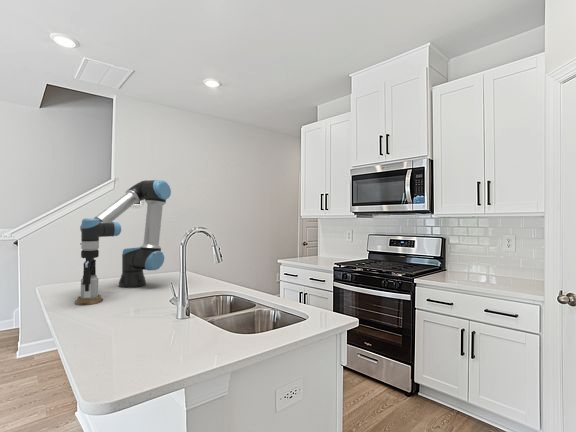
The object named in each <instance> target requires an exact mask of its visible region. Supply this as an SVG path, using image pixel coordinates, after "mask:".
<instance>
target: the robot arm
mask: <svg viewBox="0 0 576 432" xmlns="http://www.w3.org/2000/svg"><path fill="white" fill-rule="evenodd" d="M171 190H172V189H171V186H170V185H169V183H168V182H167V181H165V180H162V179H154V180H153V179H152V180H147V179H146V180H141V181H139V182H137V183H136V184H134V185H132V186H131V187H130V188H128V189H127V190H126V191H125V193H124V194H123V195H122V196H120V198H118V199H117V200H115V201H114V202H113V203H111V204H110V205H109V206H108V207H107V208H105V209H104V210H103V211H101V212H100V213H98V214H97V215H96V216H95V217H93V218H83V219H82V220H81V225H80V226H79V228H80V229H79V231H80V232H81V234H80V235H81V236H80V237H81V241H80V244H79V245H80V248H81V251H80V258H82V259H85V261H84V263H83V272H82V273H83V275H82V278H83V283H82V285H84V298H90V297H91V284H90V280H91V275H97V273H96V272H97V271H96V269H97V268H96V267H97V266H96V262H97V259H95V258H99V257H100V255H99V253H100V251H99V247H100V238H101V237H105V238H107V237H118V236H119V235H120V234H121V232H122V225H121V224H120V223H119V222H115V221H114V220H116V219H117V218H119V217H120V216H121V215H123V213H125V212H126V211H127V210H129V209H130V208H131V207H132V206H133V205H135V204H139V203H140V202H142V201H144V202H145V203H146V204H147V206H146V215H145V216H146V217H145V223H144V224H145V227H144V235H143V236H144V237H143V242H142V243H143V244H142V245H141V246H140V247H139V246H138V247H130V248H129V247H127V248H124V249H123V250H122V254H121V261H122V262H121V269H122V270H121V274H120V277H119V278H120V279H119V281H118V287H120V288H124V289H125V288H128V289H131V288H139V287H143V286H144V287H145V286H146V284H147V280H146V277H145V274H144V270H145V271H157V270H159V269H160V268H161V267H162V266H163V264H164V263H165V255H164V252H163V251H161V250H162V247H161V246H160V238H161V237H160V235H161V227H162V216H163V206H164V205H165V204H166V203H167V200H168V199H169V198H170V196H171V194H172V191H171Z"/></svg>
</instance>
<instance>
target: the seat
mask: <svg viewBox="0 0 576 432" xmlns="http://www.w3.org/2000/svg"><path fill="white" fill-rule="evenodd" d="M103 301H104V298H103V297H102V295H101V294H99V293H98V297H96V298H91V299H81V295H79V296H77V297H76V299H75V301H74V304H75V305H76V306H89V305H90V306H91V305H97V304H100V303H103Z"/></svg>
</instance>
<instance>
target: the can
mask: <svg viewBox="0 0 576 432" xmlns="http://www.w3.org/2000/svg"><path fill="white" fill-rule="evenodd" d="M82 283H83V277H82V278H81V279H80V296H81V299H91V298H96V297H98V294H99V278H98V275H97V274H96V275H91V280H90V284H91V297H90V298H84V285H82Z"/></svg>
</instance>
